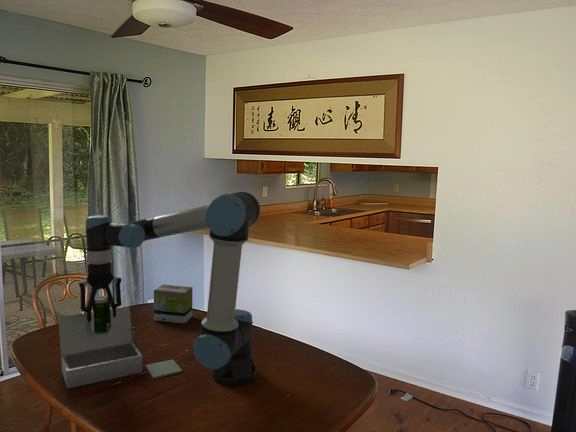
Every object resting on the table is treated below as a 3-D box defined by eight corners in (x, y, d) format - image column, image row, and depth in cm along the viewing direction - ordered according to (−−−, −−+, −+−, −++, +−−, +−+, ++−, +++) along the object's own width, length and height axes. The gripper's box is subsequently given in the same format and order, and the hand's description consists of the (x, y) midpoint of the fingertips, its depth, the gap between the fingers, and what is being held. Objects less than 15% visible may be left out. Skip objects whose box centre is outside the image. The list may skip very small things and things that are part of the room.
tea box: (153, 321, 211) (152, 289, 209) (162, 314, 221) (162, 283, 219) (184, 324, 208) (184, 292, 206) (193, 316, 218) (193, 286, 216)
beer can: (113, 329, 162) (111, 295, 161) (107, 335, 157) (105, 300, 156) (97, 328, 162) (96, 295, 161) (91, 334, 157) (89, 300, 156)
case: (146, 371, 163) (145, 320, 161) (66, 388, 150) (64, 334, 148) (133, 351, 179) (132, 305, 176) (60, 366, 165) (58, 316, 163)
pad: (182, 372, 164) (182, 370, 163) (153, 378, 158) (153, 376, 158) (172, 360, 172) (172, 359, 172) (145, 366, 167) (145, 365, 167)
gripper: (125, 256, 165) (127, 320, 168) (68, 262, 155) (71, 329, 158) (130, 261, 158) (132, 326, 161) (71, 267, 149) (74, 337, 152)
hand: (102, 328), depth 160 cm, fingers closed on beer can, 5 cm apart
